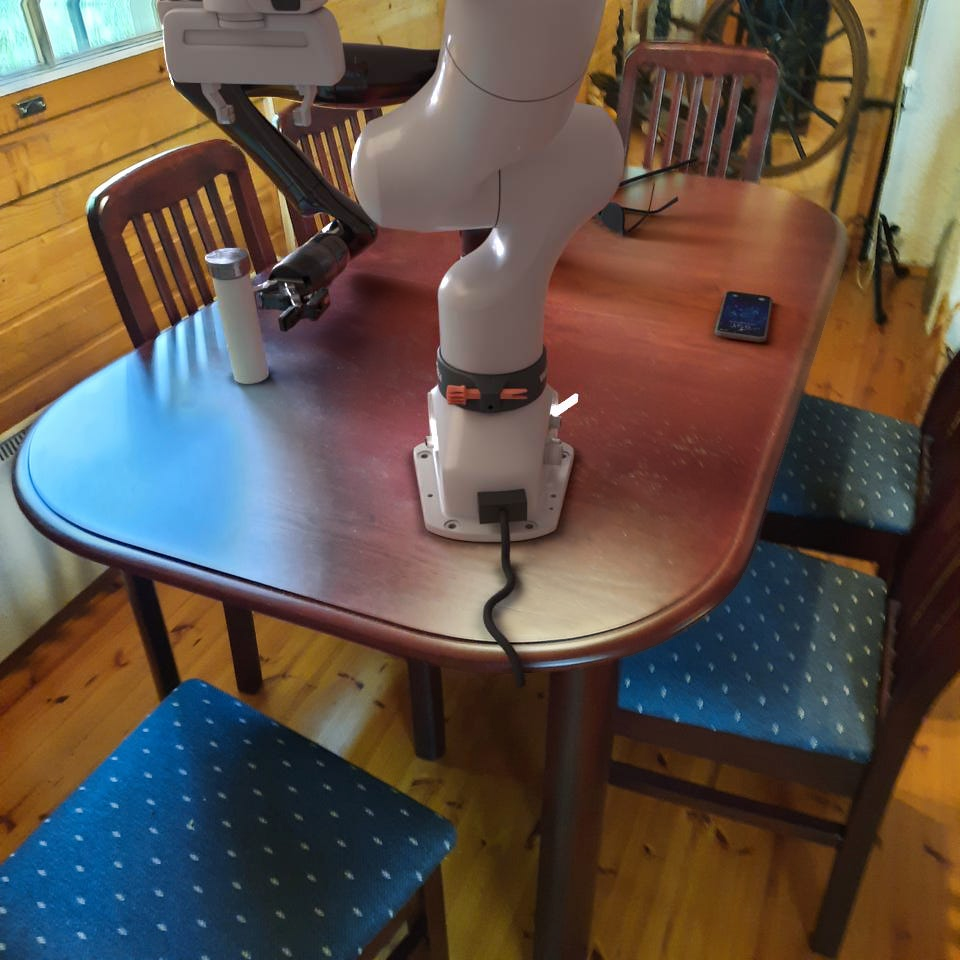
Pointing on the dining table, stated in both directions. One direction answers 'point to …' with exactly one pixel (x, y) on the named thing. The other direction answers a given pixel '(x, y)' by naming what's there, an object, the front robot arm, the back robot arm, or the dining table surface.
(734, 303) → the smartphone
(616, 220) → the sunglasses
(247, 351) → the white cylinder
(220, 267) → the lid
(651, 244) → the dining table surface
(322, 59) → the front robot arm
